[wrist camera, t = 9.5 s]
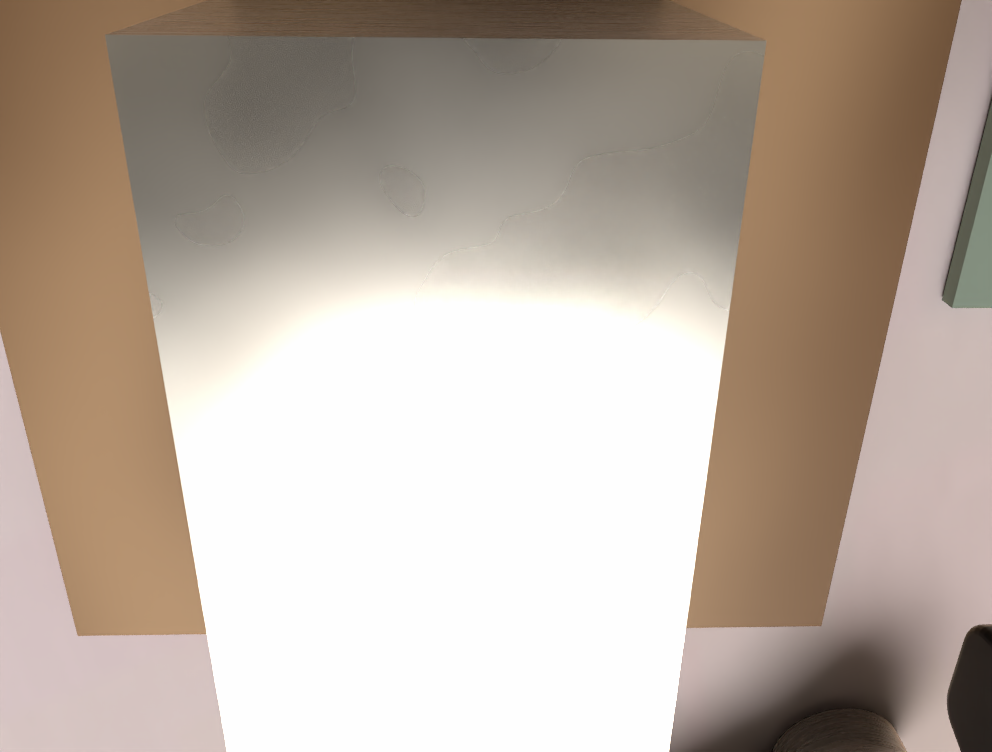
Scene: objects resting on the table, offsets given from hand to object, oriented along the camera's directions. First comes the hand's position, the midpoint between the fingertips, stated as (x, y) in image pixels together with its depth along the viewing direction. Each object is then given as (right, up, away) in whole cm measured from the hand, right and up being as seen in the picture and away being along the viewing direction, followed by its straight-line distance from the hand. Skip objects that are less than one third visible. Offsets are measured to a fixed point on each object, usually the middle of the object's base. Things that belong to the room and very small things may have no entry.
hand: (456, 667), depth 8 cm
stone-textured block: (0, +2, +5) cm, 5 cm away
